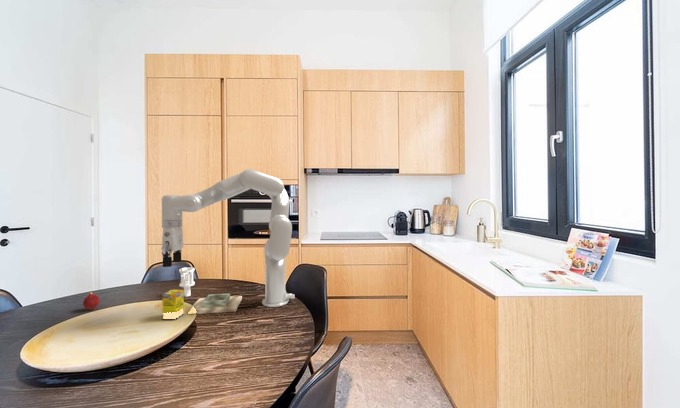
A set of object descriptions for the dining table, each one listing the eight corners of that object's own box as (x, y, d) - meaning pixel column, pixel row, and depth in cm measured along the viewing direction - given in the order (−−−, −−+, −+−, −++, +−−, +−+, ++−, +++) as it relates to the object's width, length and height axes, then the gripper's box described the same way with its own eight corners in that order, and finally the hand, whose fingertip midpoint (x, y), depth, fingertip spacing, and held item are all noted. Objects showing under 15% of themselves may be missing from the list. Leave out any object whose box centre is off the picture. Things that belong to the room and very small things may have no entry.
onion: (103, 307, 131) (103, 290, 131) (91, 312, 126) (91, 294, 125) (92, 307, 132) (91, 290, 132) (79, 312, 126) (79, 294, 126)
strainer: (176, 297, 145) (175, 268, 145) (187, 292, 152) (187, 265, 152) (187, 298, 143) (186, 269, 143) (197, 294, 150) (197, 265, 150)
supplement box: (176, 320, 118) (175, 294, 117) (162, 320, 118) (161, 294, 118) (184, 314, 124) (184, 289, 123) (170, 314, 124) (170, 289, 124)
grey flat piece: (241, 298, 143) (241, 290, 143) (235, 311, 127) (235, 302, 127) (199, 301, 139) (199, 293, 139) (187, 314, 124) (187, 305, 123)
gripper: (173, 225, 113) (173, 268, 113) (189, 222, 130) (189, 259, 130) (152, 226, 111) (152, 269, 112) (171, 222, 128) (171, 260, 129)
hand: (172, 264), depth 121 cm, fingers open, 9 cm apart
